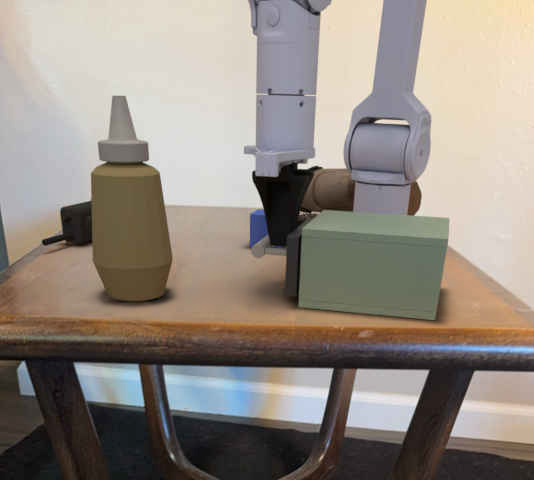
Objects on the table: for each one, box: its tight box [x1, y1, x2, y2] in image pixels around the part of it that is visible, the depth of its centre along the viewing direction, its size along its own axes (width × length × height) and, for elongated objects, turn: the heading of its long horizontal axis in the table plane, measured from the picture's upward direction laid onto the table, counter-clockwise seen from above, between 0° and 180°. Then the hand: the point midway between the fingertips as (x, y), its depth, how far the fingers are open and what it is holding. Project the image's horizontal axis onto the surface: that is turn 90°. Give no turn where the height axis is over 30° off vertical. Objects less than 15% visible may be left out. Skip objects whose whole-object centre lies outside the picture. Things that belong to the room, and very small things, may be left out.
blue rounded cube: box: [249, 208, 285, 249], centre depth 87 cm, size 4×4×4 cm
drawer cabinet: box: [298, 210, 450, 321], centre depth 65 cm, size 14×12×8 cm
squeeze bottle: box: [90, 95, 174, 302], centre depth 61 cm, size 8×8×18 cm
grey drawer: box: [250, 219, 313, 297], centre depth 66 cm, size 17×10×6 cm, turn 76°
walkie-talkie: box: [41, 200, 92, 247], centre depth 86 cm, size 5×3×15 cm
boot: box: [300, 165, 423, 216], centre depth 106 cm, size 8×24×17 cm
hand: (281, 245), depth 66 cm, fingers closed
